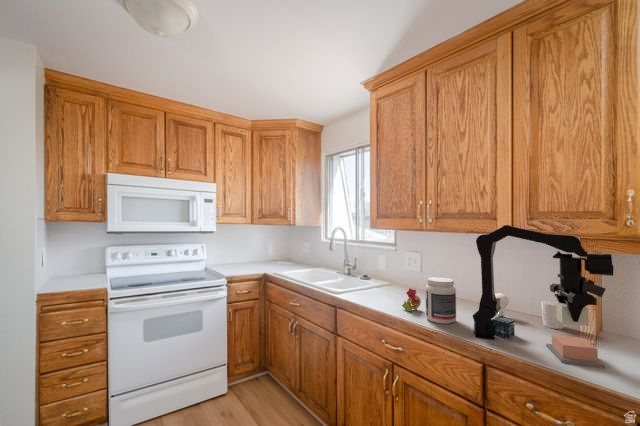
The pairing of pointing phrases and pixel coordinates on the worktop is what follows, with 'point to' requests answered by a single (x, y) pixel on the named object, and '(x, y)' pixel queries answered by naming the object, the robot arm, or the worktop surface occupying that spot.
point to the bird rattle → (412, 300)
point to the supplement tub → (440, 300)
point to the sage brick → (566, 318)
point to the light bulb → (502, 303)
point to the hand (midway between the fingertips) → (572, 319)
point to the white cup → (550, 315)
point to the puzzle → (504, 327)
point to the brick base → (575, 351)
